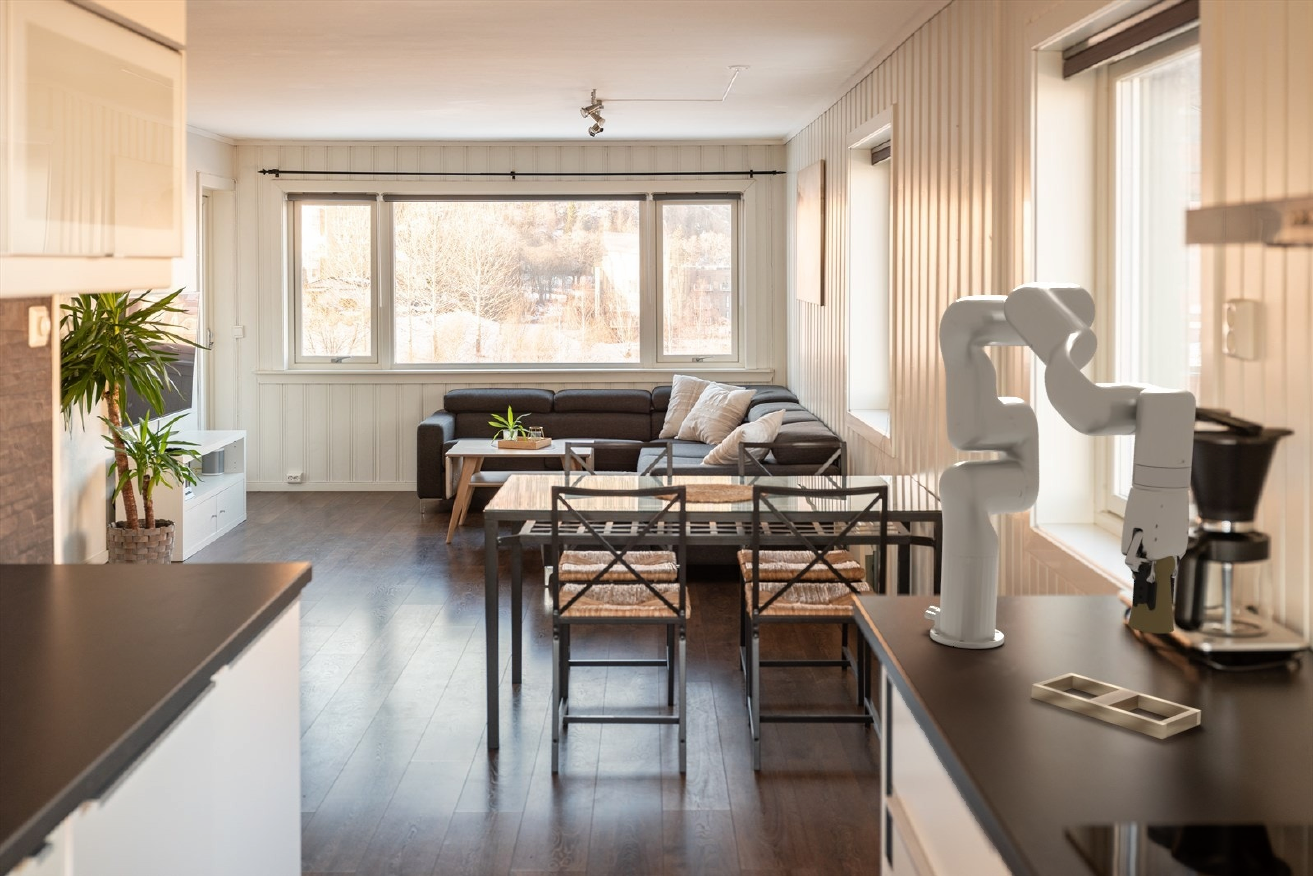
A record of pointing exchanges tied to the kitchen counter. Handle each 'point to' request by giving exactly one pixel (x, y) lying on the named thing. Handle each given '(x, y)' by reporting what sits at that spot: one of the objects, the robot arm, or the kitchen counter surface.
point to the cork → (1163, 613)
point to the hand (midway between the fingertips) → (1152, 604)
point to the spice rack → (1117, 705)
